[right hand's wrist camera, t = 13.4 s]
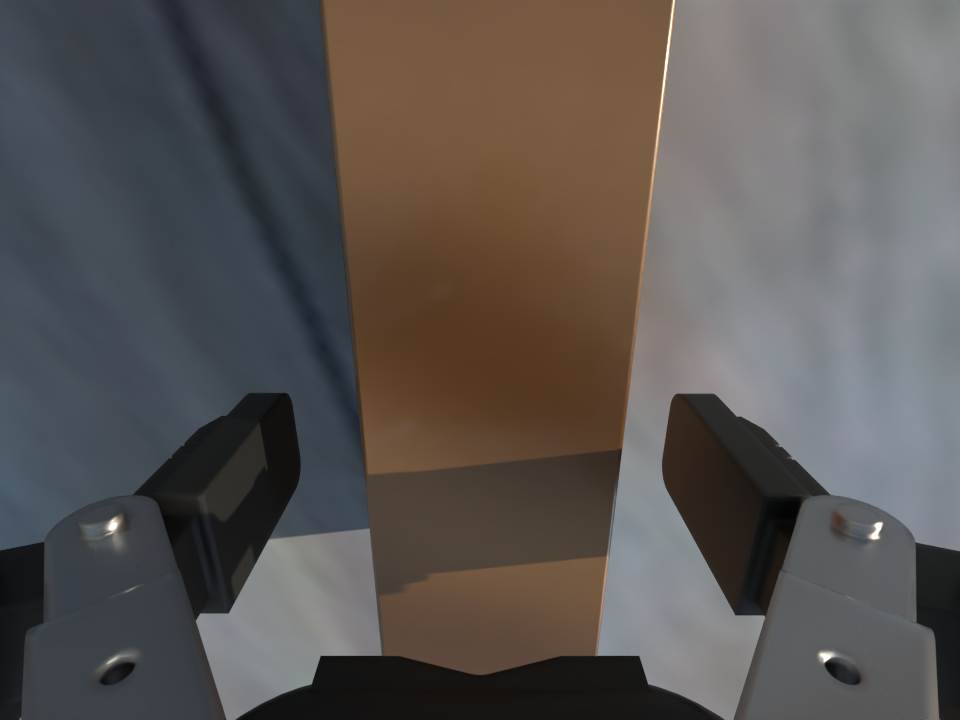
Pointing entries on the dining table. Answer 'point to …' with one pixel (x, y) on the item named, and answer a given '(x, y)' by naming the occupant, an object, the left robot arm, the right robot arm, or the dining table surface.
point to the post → (493, 303)
